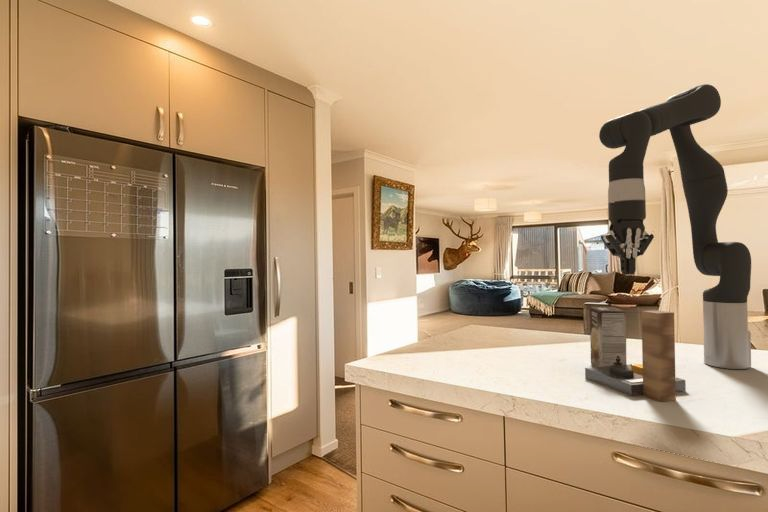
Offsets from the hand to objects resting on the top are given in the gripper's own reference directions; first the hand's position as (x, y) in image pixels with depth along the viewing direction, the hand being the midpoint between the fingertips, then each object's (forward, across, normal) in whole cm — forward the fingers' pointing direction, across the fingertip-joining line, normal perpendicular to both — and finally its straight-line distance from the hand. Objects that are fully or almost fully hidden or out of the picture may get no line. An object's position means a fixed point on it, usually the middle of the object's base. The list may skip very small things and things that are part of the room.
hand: (628, 274), depth 95 cm
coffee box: (+26, -4, -12) cm, 29 cm away
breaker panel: (+26, 0, 0) cm, 26 cm away
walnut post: (+26, +2, +10) cm, 27 cm away
